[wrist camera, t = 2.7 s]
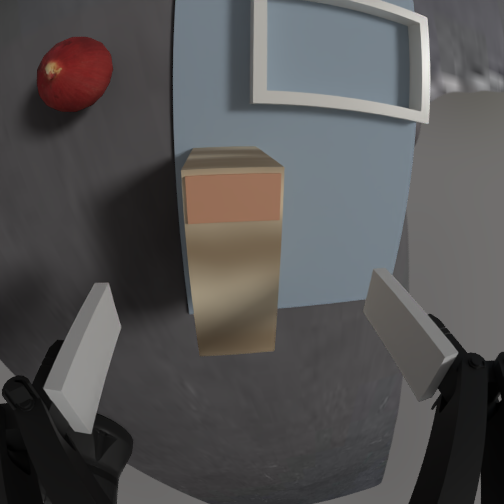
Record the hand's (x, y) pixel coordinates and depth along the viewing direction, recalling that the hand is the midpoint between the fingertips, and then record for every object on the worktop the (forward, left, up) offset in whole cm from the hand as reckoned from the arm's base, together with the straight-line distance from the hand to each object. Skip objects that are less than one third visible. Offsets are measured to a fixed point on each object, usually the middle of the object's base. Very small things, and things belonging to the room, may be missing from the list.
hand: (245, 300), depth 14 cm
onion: (+13, +11, -13) cm, 22 cm away
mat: (+7, -7, -13) cm, 16 cm away
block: (0, 0, -13) cm, 13 cm away
